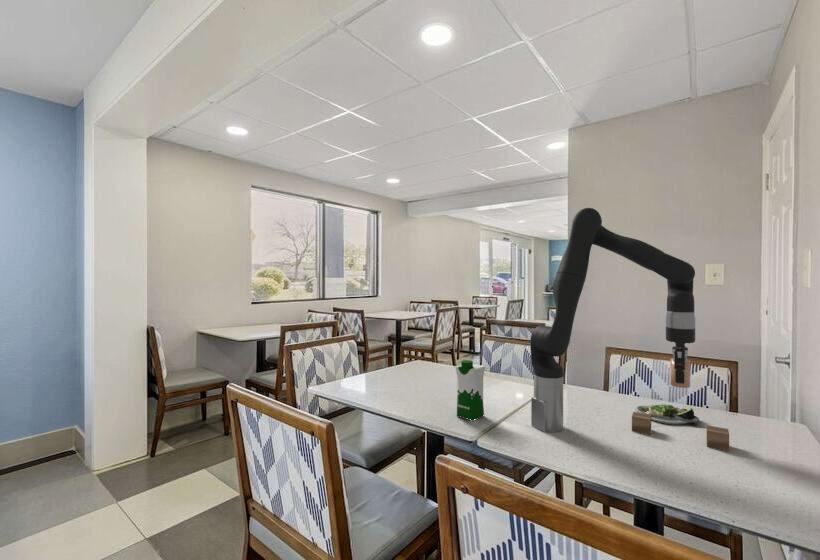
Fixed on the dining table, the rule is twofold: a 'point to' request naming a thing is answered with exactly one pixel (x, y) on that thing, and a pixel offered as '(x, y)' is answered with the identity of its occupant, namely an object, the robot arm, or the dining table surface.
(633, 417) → the back walnut cube
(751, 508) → the dining table surface
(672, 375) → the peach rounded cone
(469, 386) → the milk carton
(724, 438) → the front walnut cube
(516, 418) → the dining table surface
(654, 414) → the salad plate
